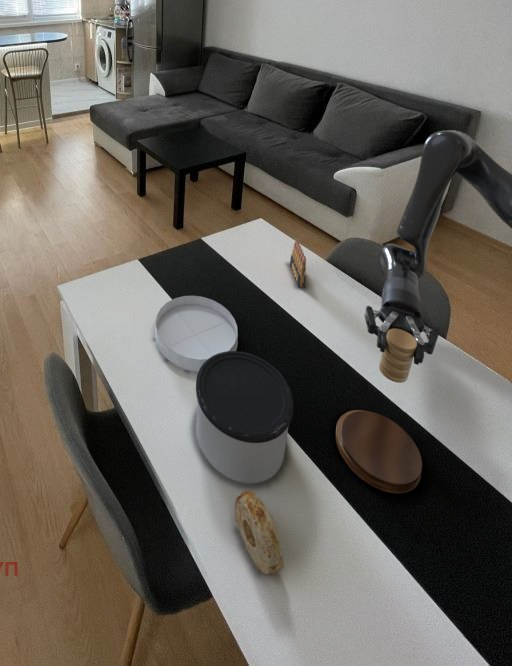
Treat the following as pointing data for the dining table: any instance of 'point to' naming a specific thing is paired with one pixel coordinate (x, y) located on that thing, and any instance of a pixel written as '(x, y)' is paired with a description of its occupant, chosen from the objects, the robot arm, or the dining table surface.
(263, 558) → the bagel
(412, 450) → the brown round base
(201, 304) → the dish
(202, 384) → the container
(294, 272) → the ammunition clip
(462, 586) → the dining table surface
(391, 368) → the chip roll
